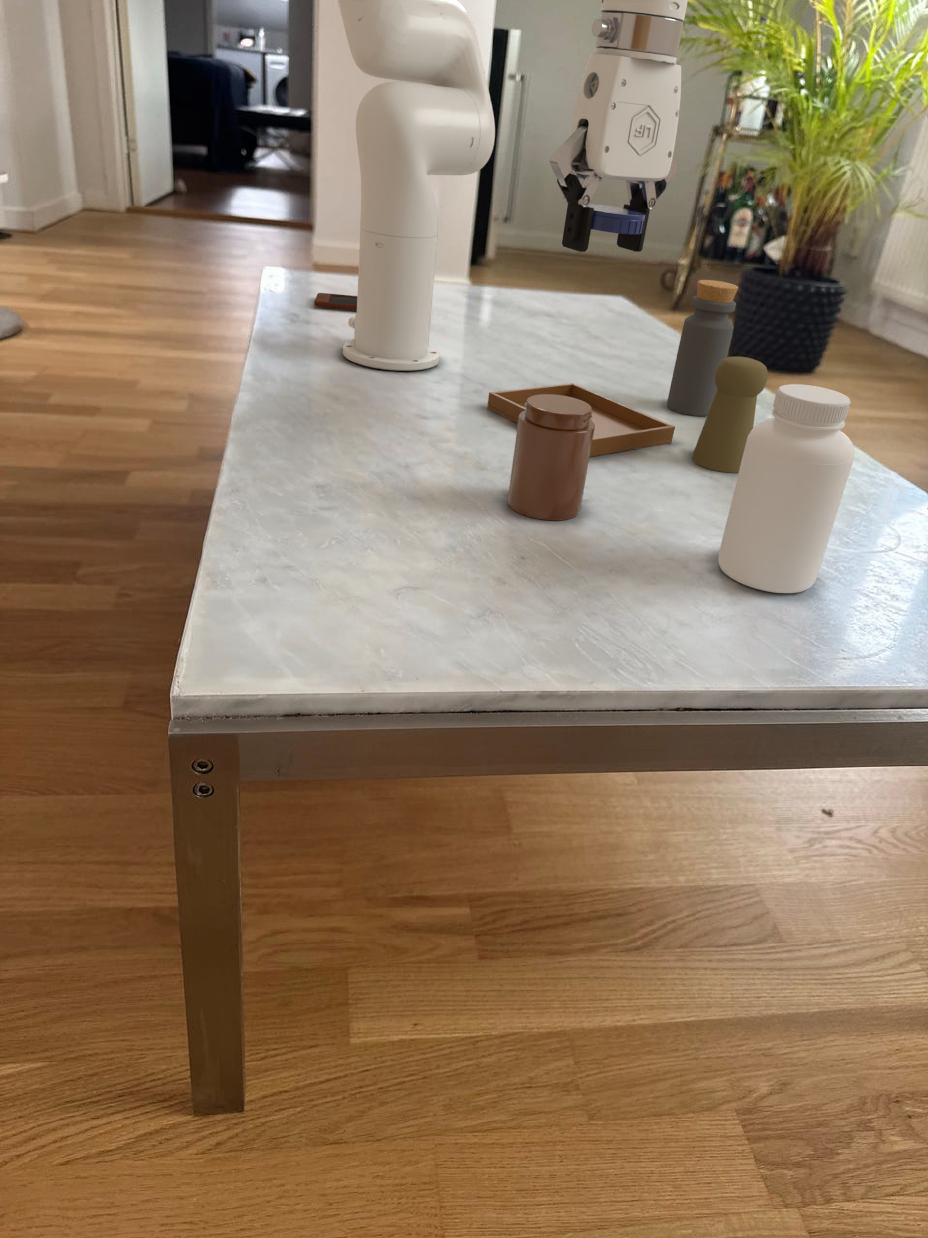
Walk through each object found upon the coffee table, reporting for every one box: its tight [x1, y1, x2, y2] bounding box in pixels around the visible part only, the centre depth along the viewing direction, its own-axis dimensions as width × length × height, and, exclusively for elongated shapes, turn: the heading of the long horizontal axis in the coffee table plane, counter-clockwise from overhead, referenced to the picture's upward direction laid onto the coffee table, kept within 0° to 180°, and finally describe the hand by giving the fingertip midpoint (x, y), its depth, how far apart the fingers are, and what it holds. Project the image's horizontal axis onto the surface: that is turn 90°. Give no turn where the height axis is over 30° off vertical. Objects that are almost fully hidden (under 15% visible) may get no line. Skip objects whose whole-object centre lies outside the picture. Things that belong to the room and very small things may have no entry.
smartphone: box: [313, 292, 357, 312], centre depth 148 cm, size 7×1×15 cm
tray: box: [486, 382, 676, 458], centre depth 106 cm, size 17×13×2 cm
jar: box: [507, 394, 595, 521], centre depth 83 cm, size 7×7×9 cm
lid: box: [588, 203, 645, 234], centre depth 93 cm, size 7×7×2 cm
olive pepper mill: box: [691, 356, 769, 474], centre depth 98 cm, size 6×6×11 cm
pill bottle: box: [717, 383, 855, 594], centre depth 74 cm, size 8×8×15 cm
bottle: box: [666, 279, 739, 417], centre depth 114 cm, size 6×6×15 cm
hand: (602, 247), depth 94 cm, fingers closed on lid, 6 cm apart
